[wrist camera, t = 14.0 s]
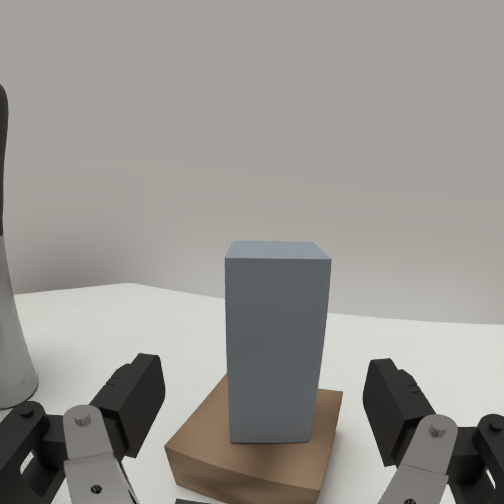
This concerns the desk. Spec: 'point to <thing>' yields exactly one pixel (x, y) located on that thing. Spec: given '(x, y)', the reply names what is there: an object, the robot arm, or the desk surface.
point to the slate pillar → (274, 338)
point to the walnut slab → (251, 455)
